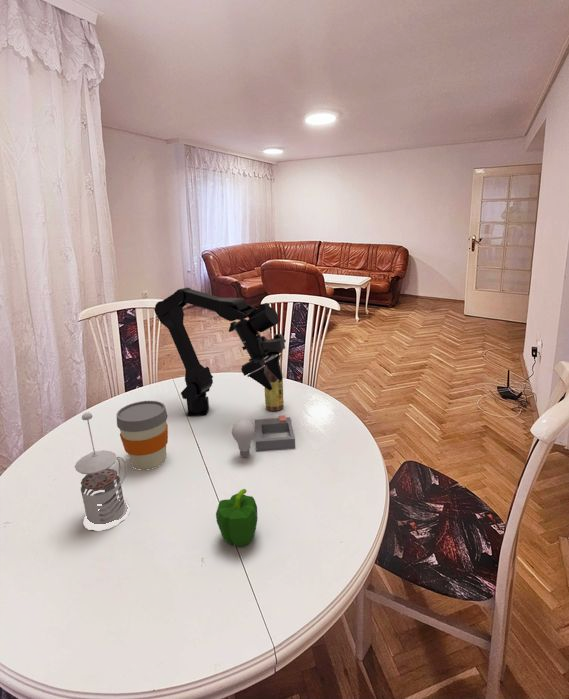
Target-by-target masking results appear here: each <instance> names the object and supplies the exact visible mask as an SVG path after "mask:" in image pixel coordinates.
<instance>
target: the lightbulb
mask: <svg viewBox="0 0 569 699" xmlns="http://www.w3.org/2000/svg"><path fill="white" fill-rule="evenodd" d="M231 435H232V437H233V439H234V440H235V441H236V443H237V446H238V450H239V456H240V457H241V458H244V459H246V458H247V457H249V456H250V453H251V450H250V449H251V443H252V440H253V439H254V437H255V424H254V423H252V421H250V420H248V419H245V418H244V419H239V420H236V422H235V423H234V424H233V425H232V428H231Z"/></svg>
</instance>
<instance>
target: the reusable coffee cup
mask: <svg viewBox="0 0 569 699" xmlns="http://www.w3.org/2000/svg"><path fill="white" fill-rule="evenodd" d="M167 419H168V413H167V408H166V405H165V404H164V403H163V402H161V401H157V400H143V401H142V400H141V401H136V402H133V403H130V404H127V405H125V406H123V407H121V408H120V409H119V410H118V411H117V413H116V426H117V428H118V429H119V431H120V433H119V436H120V440H121V443H122V446H123V448H124V451H125V453H126V454H127V455H128V458H129V461H130V465H131V467H132V466H133V467H134V468H136V469H135V470H137V469H141V470H140V471H148V470H147V469H150V470H153V469H152V468H154V469H156V468H159V465H160V466H161V465H163V464H164V463H165V462H166V460H167V445H168V442H169V441H168V437H169V429H168V427H169V426H168V423H167ZM165 459H166V460H165ZM164 461H165V462H164ZM163 462H164V463H163ZM162 463H163V464H162ZM133 467H132V468H133ZM155 467H156V468H155ZM134 468H133V469H134Z"/></svg>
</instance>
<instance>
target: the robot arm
mask: <svg viewBox="0 0 569 699" xmlns="http://www.w3.org/2000/svg"><path fill="white" fill-rule="evenodd" d="M187 305H192V306H195V307H198V308H201V309H204V310H209V311H212V312H215V313H216V314H217V315H218V316H219V317H220V318H222V319H224V320H226V321H228V322H230V326H229V329H228V332H229V333H231V332H233V331H235V332H236V333H237V336H238V338H239V339H240V341H241V343H242V345H243V346H242V347H241V348H242V350H243V351H245V350H246V353H247V354H248V355H249V357H250V358H248V362H246V363H245V364H243V365H241V369H240V371H241V372H242V374H243V376H246V377H248V378H251V379H252V380H253V381H255V382H257V383H258V384H260V385H261V386H263V387H264V389H265V388H267V389H268V390H272V386H271V383H270V380H269V378H268V376H267V373H266V369H267V368H268V369H269V370H270V371H271V372H272V373H273V374H274V375H275V376H276V377H277V378H278V379H279V380H282V379H283V380H284V378H283V377H282V374H283V373H282V369H281V364H280V360H281V358H282V353H283V350H285V349H286V345H285V344H286V342H287V340H286V339H285V337H284V336H283V335H282V333H277V334H274V335H273V338H269V339H267V338H266V336H265V335H262V336H261V334H260V333H263V332H266V331H268V330H269V329H271V328H273V327H274V326H276V325H278V324H279V321H280V318H279V315H278V312H277V311H276V310H275V309H274V308H272V306H269V304H268V303H267V302H265V303H263V304H261V305H259V307H257V308H256V307H254V306H252V305H250V304H248V303H247V302H246V300H245V299H244V298H241V297H220V296H216V295H213V294H211V293H210V294H209V293H205V292H201V291H199V290H196V289H192V288H190V287H184V288H179V289H177V290H176V291H175V292H174V293H173V294H171V295H169V296H167V297H166V298H164V299H163V300H161V301H158V302H156V304H155V306H154V313H155V315H156V317H157V319H158V321H159V322H160V323H161V325H163V326H164V327H165V328H166V329H167V330H168V332H169V333H170V335H171V338H172V341H173V343H174V345H175V348H176V350H177V352H178V355H179V357H180V360H181V362H182V365H183V367H184V370H185V373H184V374H185V376H184V382H185V385H186V387H184V389H183V390H182V391H181V392H180V396H181V397H182V400H186V407H187V414H186V416H187V417H194V416H206V415H208V412H209V410H210V401H209V400H210V399H209V396H207V393H209V392H210V389H211V387H212V386H213V384H214V380H213V378H214V376H213V375H212V373H211V370H210V368H209V366H205V367H204V366H203V364H201V363H200V360H199V358H198V356H197V354H196V351H195V348H194V346H193V344H192V342H191V339H190V336H189V334H188V332H187V330H186V327H185V325H184V318H185V316H184V315H185V313H184V308H185V307H186V306H187ZM247 318H248V319H247ZM237 320H238V321H237ZM277 354H278V355H277Z"/></svg>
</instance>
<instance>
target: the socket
mask: <svg viewBox="0 0 569 699" xmlns="http://www.w3.org/2000/svg"><path fill="white" fill-rule="evenodd" d="M254 428H255V434H254V438H255V452H261V451H262V452H264V451H276V450H278V451H279V450H287V449H289V450H290V449H296V437H295V433H294V427H293V423H292V420H291V417H290V416H287V417H286V415H279V416H278V417H276V418H275V417H274V418H260V419H254ZM277 433H288V436H277V437H263V435H264V434H277Z"/></svg>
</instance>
